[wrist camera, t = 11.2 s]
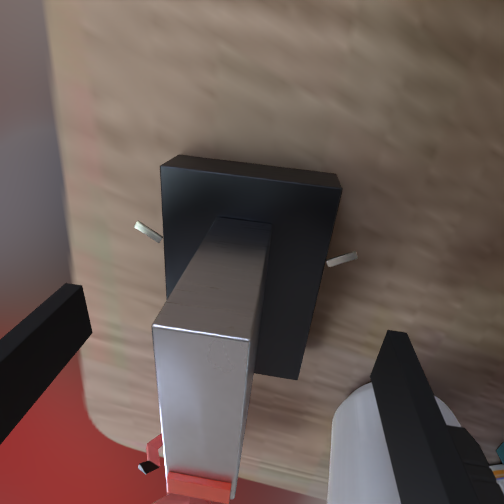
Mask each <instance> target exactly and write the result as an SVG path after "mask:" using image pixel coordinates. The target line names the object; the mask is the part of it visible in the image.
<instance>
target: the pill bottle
mask: <svg viewBox="0 0 504 504" xmlns="http://www.w3.org/2000/svg"><path fill="white" fill-rule="evenodd" d="M489 468H491V470H492V472H493V474H494V476H495V478H496V479H497V481H498V482H499V484H500V485H501V487H502V488H503V490H504V465H503V464H498V465H492V466H489Z"/></svg>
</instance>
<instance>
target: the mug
mask: <svg viewBox="0 0 504 504" xmlns="http://www.w3.org/2000/svg"><path fill="white" fill-rule="evenodd" d="M434 397H435V399H436V401H437V404H438V406H439V408H440V411H441V413H442V415H443V418H444V420H445V422H446V425H450V426H457V427H462V426H461V425H460V423H459V422H458V420H457V418H456V417H455V415H454V414H453V412H452V411H451V410H450V408H449V407H448V406H447V405H446V404H445V403H444V402H443V401H441V400H440V399H439V398H437V397H436V396H434ZM496 482H497V484H499V482H498V481H497V479H496ZM499 486H500V488H501V490H502V492H503V494H504V490H503V488H502V487H501V485H500V484H499ZM327 504H401V501H400V497H399V493H398V489H397V485H396V481H395V476H394V472H393V468H392V464H391V460H390V456H389V452H388V448H387V444H386V440H385V435H384V431H383V427H382V423H381V419H380V415H379V411H378V407H377V403H376V398H375V394H374V390H373V386H372V382H371V383H368V384H365V385H363V386H361V387H359V388H358V389H356V390H355V391H354V392H353V393H352V394H351V395H350V396H349V397H348V398H347V399H346V400H345V401H344V402H343V403H342V404H341V405H340V406H339V407H338V409H337V410H336V412H335V414H334V417H333V422H332V437H331V455H330V470H329V485H328V499H327Z"/></svg>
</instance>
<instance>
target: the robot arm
mask: <svg viewBox="0 0 504 504" xmlns="http://www.w3.org/2000/svg"><path fill="white" fill-rule="evenodd" d="M91 334H92V328H91V324H90V319H89V315H88V310H87V306H86V301H85V296H84V292H83V287H82V285H75V284H67V283H66V284H64V285H63V286H62V287H61V288H60V289H59V290H57V291H56V292H55V293H54V294H53V295H51V296H50V297H49V298H48V299H47V300H46V301H44V302H43V303H42V304H41V305H40V306H39V307H38V308H36V309H35V310H34V311H33V312H32V313H31V314H29V315H28V316H27V317H26V318H25V319H24V320H22V321H21V322H20V323H19V324H18V325H17V326H15V327H14V328H13V329H12V330H11V331H10V332H8V333H7V334H6V335H5V336H4V337H3V338H1V339H0V444H1V443H2V442H3V441H4V440H5V438H6V437H7V436H8V435H9V434H10V432H11V431H12V430H13V429H14V427H15V426H16V425H17V424H18V423H19V421H20V420H21V419H22V418H23V416H24V415H25V414H26V413H27V412H28V410H29V409H30V408H31V407H32V406H33V404H34V403H35V402H36V401H37V400H38V398H39V397H40V396H41V395H42V393H43V392H44V391H45V390H46V389H47V387H48V386H49V385H50V384H51V383H52V381H53V380H54V379H55V378H56V376H57V375H58V374H59V373H60V371H61V370H62V369H63V368H64V367H65V366H66V364H67V363H68V362H69V361H70V359H71V358H72V357H73V356H74V355H75V353H76V352H77V351H78V350H79V349H80V347H81V346H82V345H83V344H84V342H85V341H86V340H87V339H88V338H89V336H90V335H91ZM370 378H371V382H372V386H373V390H374V394H375V398H376V403H377V407H378V411H379V415H380V419H381V423H382V427H383V431H384V435H385V440H386V444H387V448H388V452H389V456H390V460H391V464H392V468H393V472H394V476H395V481H396V485H397V489H398V493H399V497H400V501H401V504H504V494H503V492H502V490H501V488H500V486H499V484H497V482H496V478H495V476H494V474H493V472H492V470H491V468H489V463H488V461H487V459H486V457H485V455H484V453H483V451H482V449H481V447H480V445H479V444H478V443H477V442H476V441H475V439H474V438H473V437H472V436H471V435H470V434H469V432H468V431H467V430H466V429H465V428H463V427H457V426H450V425H446V422H445V420H444V418H443V415H442V413H441V411H440V408H439V406H438V404H437V401H436V399H435V397H434V394H433V392H432V390H431V388H430V385H429V383H428V381H427V378H426V376H425V374H424V371H423V369H422V367H421V364H420V362H419V360H418V357H417V355H416V353H415V351H414V348H413V346H412V344H411V341H410V339H409V337H408V334H407V333H404V332H397V331H390V330H387V333H386V336H385V338H384V341H383V344H382V346H381V349H380V352H379V354H378V357H377V359H376V362H375V365H374V367H373V370H372V373H371V375H370Z"/></svg>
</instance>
